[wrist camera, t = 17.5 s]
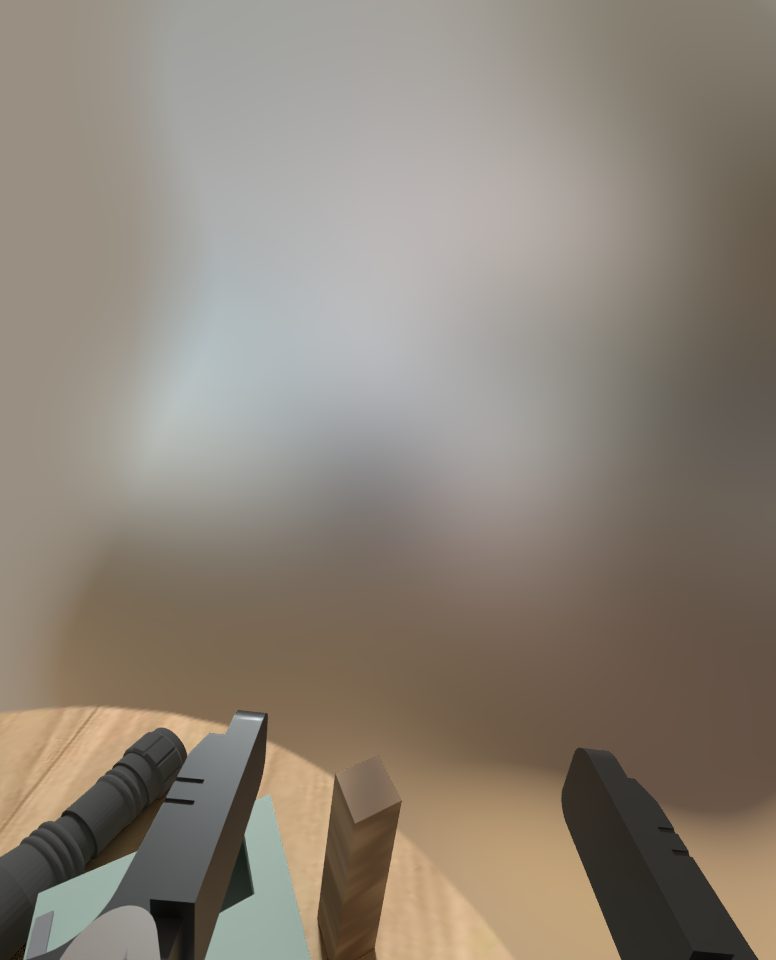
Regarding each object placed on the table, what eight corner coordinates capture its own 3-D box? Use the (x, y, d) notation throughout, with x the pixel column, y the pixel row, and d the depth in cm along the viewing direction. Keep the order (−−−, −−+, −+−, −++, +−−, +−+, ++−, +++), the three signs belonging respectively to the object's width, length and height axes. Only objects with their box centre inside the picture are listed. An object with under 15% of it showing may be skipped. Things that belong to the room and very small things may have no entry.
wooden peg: (332, 976, 26) (354, 823, 22) (317, 917, 28) (335, 773, 25) (374, 947, 27) (401, 800, 24) (356, 894, 30) (378, 755, 26)
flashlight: (152, 755, 38) (151, 711, 37) (193, 778, 37) (194, 734, 35) (-69, 959, 24) (-83, 901, 23) (-18, 1013, 23) (-31, 954, 21)
